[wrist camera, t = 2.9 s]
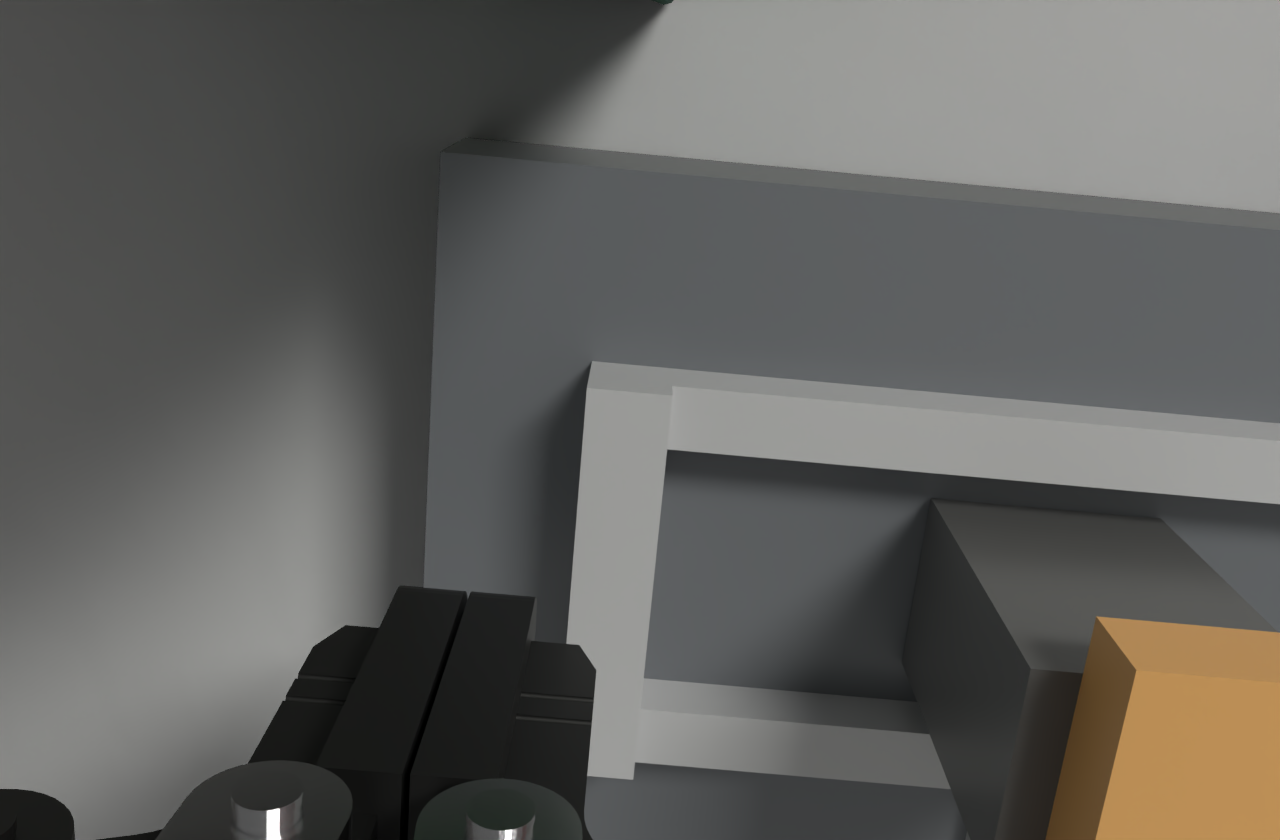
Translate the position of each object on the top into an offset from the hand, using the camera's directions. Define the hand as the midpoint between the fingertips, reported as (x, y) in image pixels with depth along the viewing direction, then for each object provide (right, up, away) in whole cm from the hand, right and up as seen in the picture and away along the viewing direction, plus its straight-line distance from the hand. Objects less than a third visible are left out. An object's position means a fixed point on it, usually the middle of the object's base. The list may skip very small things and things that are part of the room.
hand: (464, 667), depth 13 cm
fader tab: (+7, 0, +3) cm, 8 cm away
